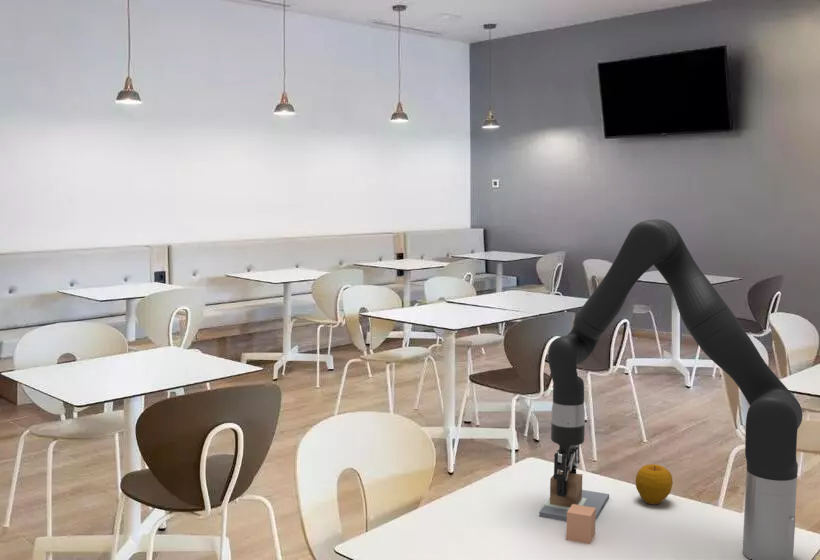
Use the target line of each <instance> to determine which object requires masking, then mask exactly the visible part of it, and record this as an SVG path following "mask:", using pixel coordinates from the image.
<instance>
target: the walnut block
mask: <svg viewBox="0 0 820 560" xmlns="http://www.w3.org/2000/svg"><path fill="white" fill-rule="evenodd" d="M560 475H563V471H560ZM549 479H550V480H549V481H550V482H549V498H550V504H553V505H559V506H565V507H571V506H572V504H575V505H578V504H579V503H580V501H581V500H582V490H583V474H582V473H577V472H576V473H569V474H568V480H567V495H566V497H562V496H558V495H557V480H556V479H554V474H553V475H552V476H551V478H549Z"/></svg>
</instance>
